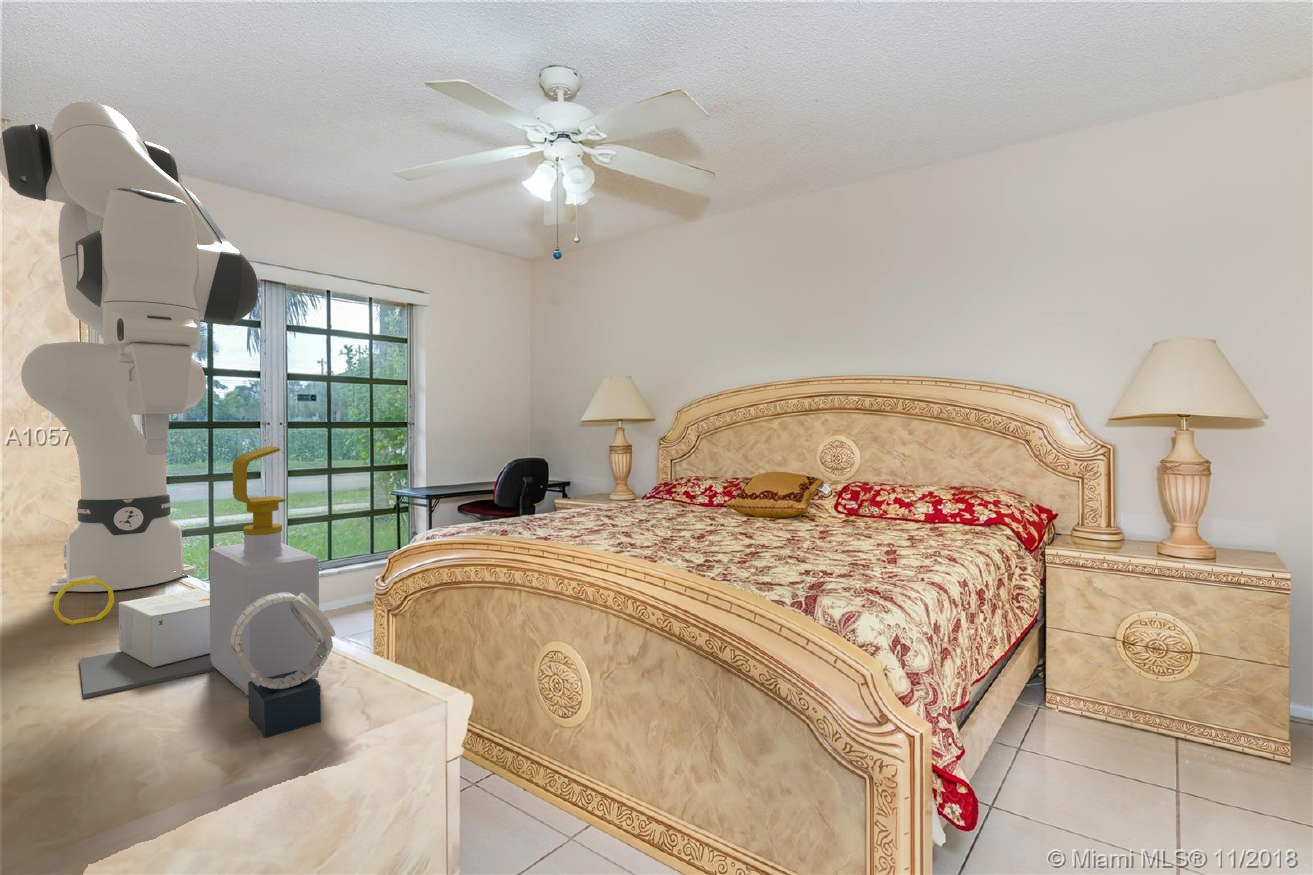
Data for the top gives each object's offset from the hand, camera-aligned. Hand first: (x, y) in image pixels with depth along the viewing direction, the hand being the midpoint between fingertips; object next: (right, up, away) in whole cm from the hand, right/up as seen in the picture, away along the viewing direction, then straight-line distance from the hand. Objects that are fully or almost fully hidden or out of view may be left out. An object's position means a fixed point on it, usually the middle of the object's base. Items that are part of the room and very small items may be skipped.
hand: (155, 454), depth 76 cm
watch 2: (+25, -23, -18) cm, 38 cm away
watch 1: (-18, -23, +12) cm, 32 cm away
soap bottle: (+17, -23, -7) cm, 29 cm away
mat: (+4, -23, -4) cm, 23 cm away
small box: (-1, -19, +3) cm, 20 cm away
